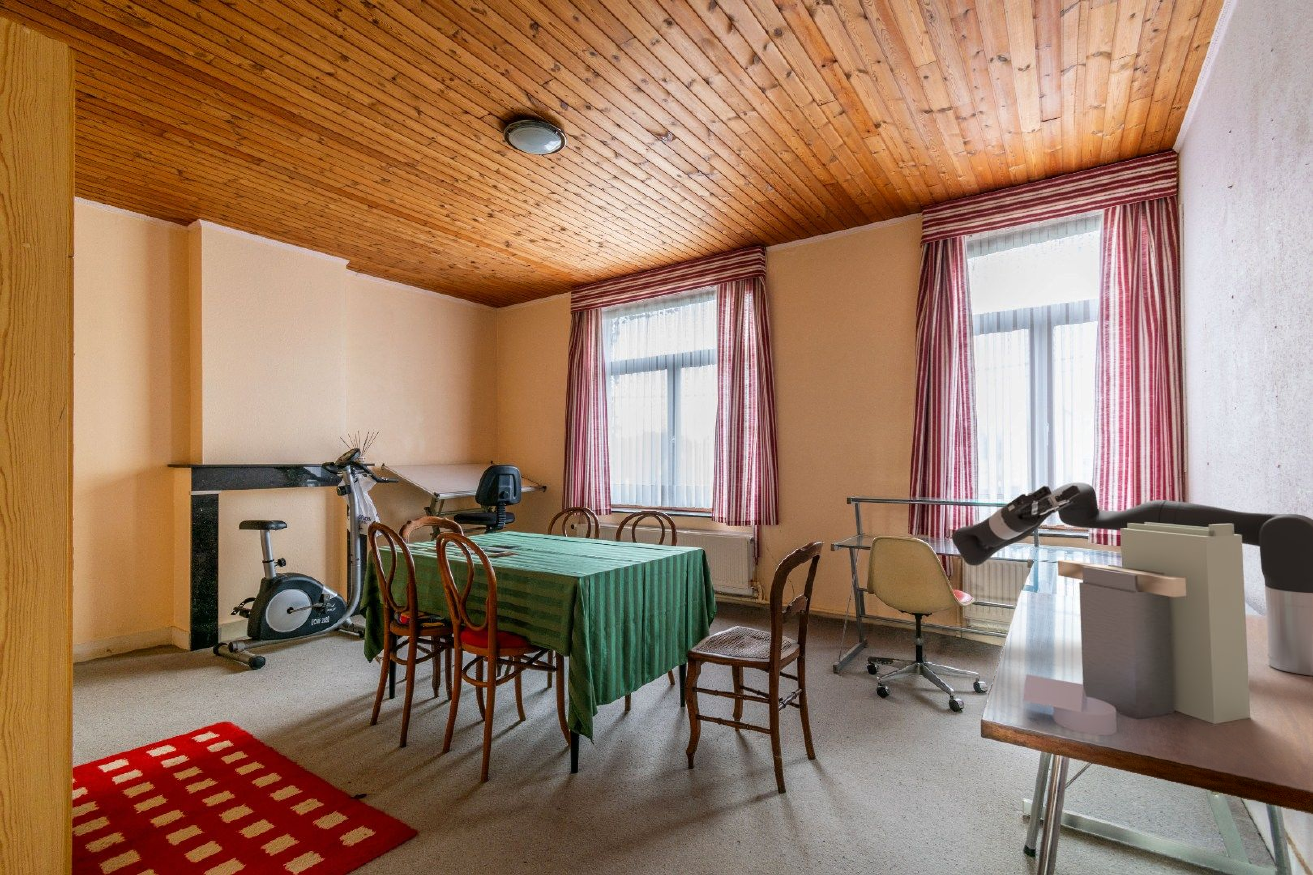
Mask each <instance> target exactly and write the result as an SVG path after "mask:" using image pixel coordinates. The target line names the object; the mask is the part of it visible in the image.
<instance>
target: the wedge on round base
mask: <svg viewBox="0 0 1313 875" xmlns="http://www.w3.org/2000/svg"><path fill="white" fill-rule="evenodd" d="M1023 690H1024V692H1023V697H1022V701H1024V702H1029V703H1034V704H1039V705H1043V706H1048V707H1053V709H1052V711H1053V721H1054V722H1056V724H1058V725H1059V726H1061V727H1062V728H1063V727H1064V728H1066V729H1068V730H1071V731H1075V732H1078V733H1082V734H1086V735H1096V736H1097V735H1098V736H1109V735H1113V734H1115V733H1117V730H1118V729H1117V728H1118V727H1117V711H1116V709H1115V707H1114V706H1112V705H1111V704H1109V703H1106V702H1104V701H1101V700H1098V699H1095V698H1091V697H1086V694H1085V690H1084V686H1083V683H1076V682H1071V681H1064V680H1060V679H1056V678H1055V679H1053V678H1049V677H1048V678H1047V677H1045V676H1044V677H1043V676H1037V675H1032V674H1026V677H1025V685H1024V689H1023Z"/></svg>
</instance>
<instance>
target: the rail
mask: <svg viewBox="0 0 1313 875" xmlns="http://www.w3.org/2000/svg"><path fill="white" fill-rule="evenodd" d="M1082 567H1091V568H1097V569H1103V570H1109V571H1115V572H1121V573H1127V574H1133V575H1137V577H1138V591H1144V592H1149V593H1154V594H1160V595H1165V596H1170V597H1180V596H1186V581H1185V578H1180V577H1174V576H1167V575H1161V574H1155V573H1148V572H1142V571H1136V570H1129V569H1123V568H1117V567H1110V566H1108V565H1103V564H1097V563H1090V562H1085V561H1077V560H1071V559H1064V560H1063V559H1062V560H1057V576H1060V577H1065V578H1070V579H1076V580H1081V581H1083V572H1082Z"/></svg>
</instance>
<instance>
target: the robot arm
mask: <svg viewBox="0 0 1313 875" xmlns="http://www.w3.org/2000/svg"><path fill="white" fill-rule="evenodd" d="M1095 490H1096V489H1094V487H1093V486H1092V485H1090V484H1088V483H1085V482H1070V483H1067V484H1063V485H1061V486H1059V487H1057V488H1055V489H1054V490H1051V489H1050V487H1049V486H1048V485H1044V486H1042V487H1040V488H1038V489H1037V490H1036V491H1034V492H1029V493H1027V495H1026V493H1022V494H1020V495H1018V496H1017V497H1016V498H1014V499H1013V500H1011V501H1010V502H1009V503H1007V504H1005V505H1004V506H1003V507H1001V508H999V509H998V510H996V511H995V512H994V513H993V514H992V515H990V516H989V517H987V518H986V519H984V520H982V521H981V522H979V523H976V524H973V525H966V526H963V527H960V528H957V529H956V530H955V531H954V532H953V534H952V537H951V540H952V543H953V544H954V546H955V548H956V549H957V552H959V554H960V556H961V557H962V559H963V561H964V562H965V563H966V564H967V565H969V566H973V567H974V566H975V567H976V566H980V565H982V564H984V563H985V562H986V561H988V560H989V559H990V558H991V557H992V556H994V555H995V554H996V553H998V552H999V551H1001V550H1002V549H1004V548H1006V547H1008V546H1011V545H1012V544H1016V543H1018V542H1020V541H1023V540H1024V539H1026V538H1028V537H1030V536H1031V535H1032V534H1033V533H1034V532H1035V531H1036V530H1037V529H1038V528H1039V527H1040V526H1041V524H1043V522H1044V521H1045V520H1047V518H1048V517H1050V516H1052V514H1055V513H1057V512H1058V517H1059V519H1060V521H1061V522H1062V523H1063V524H1065V525H1067V526H1071V527H1075V528H1076V527H1077V528H1083V529H1084V528H1085V529H1095V530H1111V531H1120V529H1123V528H1128V527H1127V523H1134V524H1145V523H1144V522H1149V523H1161V524H1173V525H1185V526H1197V527H1209V525H1212V524H1234V534H1237V535H1242V545H1243V544H1244V545H1250V546H1256V547H1259V556H1260V567H1261V568H1260V569H1261V572H1262V576H1263V578H1264V595H1265V608H1266V609H1265V613H1266V615H1265V616H1266V635H1267V656H1268V665H1269V666H1270V667H1272V668H1274V669H1276V670H1279V671H1283V672H1288V673H1293V674H1298V675H1306V676H1313V518H1310V517H1309V516H1305V515H1302V514H1296V513H1293V514H1292V513H1260V512H1247V511H1246V512H1244V511H1237V510H1231V509H1226V508H1222V507H1216V506H1210V505H1204V504H1199V503H1191V502H1185V501H1174V500H1167V499H1155V500H1151V501H1147V502H1144V503H1141V504H1139V505H1135V506H1133V507H1131V508H1130V507H1129V508H1128V509H1124V510H1117V511H1116V510H1104V509H1099V506H1098V499H1097V493H1096V491H1095Z"/></svg>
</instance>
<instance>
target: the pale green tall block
mask: <svg viewBox="0 0 1313 875" xmlns="http://www.w3.org/2000/svg"><path fill="white" fill-rule="evenodd" d="M1144 523H1145V524H1134V523H1127V527H1128V528H1123V529H1120V551H1121V552H1120V554H1121V555H1120V556H1121V557H1120V558H1121V566H1122V567H1129V568H1135V569H1141V570H1148V571H1154V572H1161V573H1164V575H1167V576H1174V577H1180V578H1185V581H1186V596H1180V597H1170V596H1169V607H1170V631H1171V654H1172V678H1173V702H1174V711H1176V712H1179V713H1182V714H1184V715H1187V716H1191V717H1193V718H1196V719H1198V720H1202V721H1205V722H1207V723H1211V724H1213V725H1216V724H1221V723H1222V724H1223V723H1227V722H1233V721H1238V720H1245V719H1248V718H1249V719H1250V718H1251V704H1250V703H1251V702H1250V685H1249V684H1250V682H1249V661H1248V658H1249V657H1248V642H1247V641H1248V638H1247V636H1248V635H1247V619H1246V617H1247V616H1246V614H1247V613H1246V597H1245V579H1244V578H1245V575H1244V557H1243V555H1244V554H1243V553H1244V552H1243V543H1242V535H1237V534H1234V524H1212V525H1209V527H1197V526H1185V525H1173V524H1161V523H1149V522H1144Z"/></svg>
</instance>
